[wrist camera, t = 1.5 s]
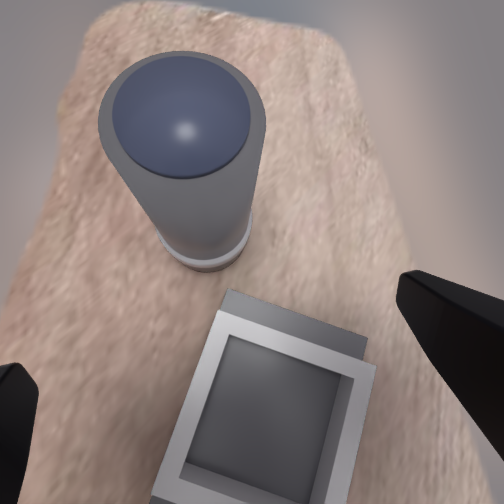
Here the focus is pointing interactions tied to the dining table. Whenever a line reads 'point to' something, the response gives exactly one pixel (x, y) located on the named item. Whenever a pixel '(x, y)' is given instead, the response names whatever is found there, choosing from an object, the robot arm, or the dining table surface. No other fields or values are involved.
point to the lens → (188, 151)
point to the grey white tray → (268, 411)
